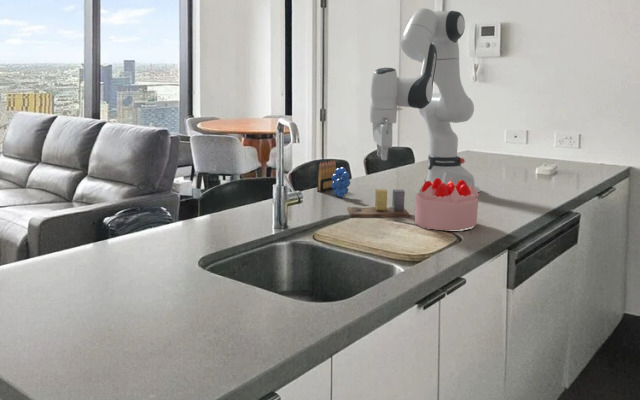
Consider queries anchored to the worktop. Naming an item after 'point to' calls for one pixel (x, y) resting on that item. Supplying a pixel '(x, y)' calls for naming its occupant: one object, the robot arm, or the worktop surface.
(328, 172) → the ammunition clip
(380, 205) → the wooden block
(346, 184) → the grapes
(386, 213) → the brown flat rectangular board
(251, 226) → the worktop surface
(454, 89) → the robot arm
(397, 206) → the grey rectangular block
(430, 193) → the cake
